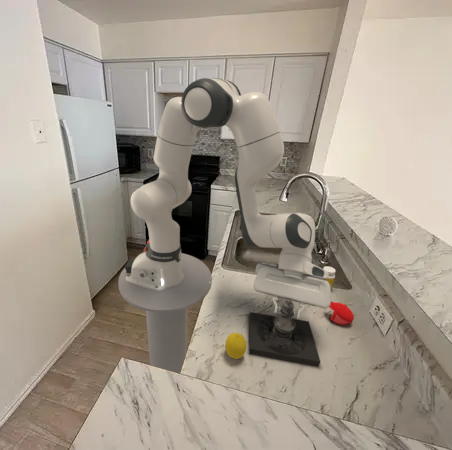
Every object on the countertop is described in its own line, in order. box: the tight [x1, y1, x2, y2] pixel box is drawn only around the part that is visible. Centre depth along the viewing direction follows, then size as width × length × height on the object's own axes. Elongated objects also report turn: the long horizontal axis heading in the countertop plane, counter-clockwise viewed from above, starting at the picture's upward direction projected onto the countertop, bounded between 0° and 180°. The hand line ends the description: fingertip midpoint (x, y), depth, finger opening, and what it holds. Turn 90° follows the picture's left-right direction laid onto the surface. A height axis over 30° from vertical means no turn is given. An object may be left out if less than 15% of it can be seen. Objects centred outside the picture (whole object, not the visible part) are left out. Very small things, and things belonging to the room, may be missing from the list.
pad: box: [248, 311, 321, 367], centre depth 75 cm, size 18×14×2 cm
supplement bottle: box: [322, 265, 337, 289], centre depth 94 cm, size 5×5×8 cm
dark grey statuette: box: [272, 299, 295, 340], centre depth 71 cm, size 6×6×12 cm
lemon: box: [224, 332, 247, 360], centre depth 68 cm, size 6×6×8 cm
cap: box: [328, 301, 355, 326], centre depth 81 cm, size 8×6×6 cm
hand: (286, 316), depth 70 cm, fingers closed on dark grey statuette, 3 cm apart
